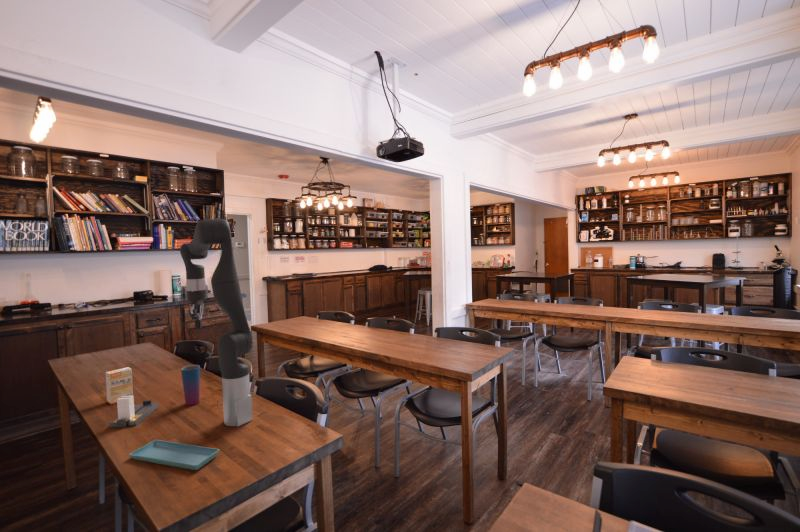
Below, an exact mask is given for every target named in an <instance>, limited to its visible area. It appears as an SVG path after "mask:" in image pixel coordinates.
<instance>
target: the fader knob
mask: <svg viewBox="0 0 800 532" xmlns="http://www.w3.org/2000/svg"><path fill="white" fill-rule="evenodd" d="M134 399H135V398H134V395H133V396H122V397H120V398H119V399H117V403H116V405H117V407H116V408H117V417H118V419H127V420H131V419H132V418H134V417H135V410H134V405H135V400H134Z"/></svg>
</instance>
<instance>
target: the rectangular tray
mask: <svg viewBox="0 0 800 532" xmlns="http://www.w3.org/2000/svg"><path fill="white" fill-rule="evenodd" d="M219 452H220V449H219V448H212V447H207V446H206V447H205V446H200V445H192V444H186V443H181V442H175V441H174V442H173V441H167V440H162V439H154V440H152V441H150V442H149V443H146V444H145V445H143V446H141V447H139V448H137V449H135V450H134V451H132V452H130V453H129V454H128V456H129V457H130V458H132V459H133V460H136V461H142V462H147V463H148V462H149V463H154V464H159V465H165V466H170V467H176V468H180V469H186V470H190V471H191V470H192V471H198V470H199V469H201V468H203V466H205V465H206V464H208V463H209V462H210V461H212V460H213V459H214V458H216V457H217V455H218V454H219Z"/></svg>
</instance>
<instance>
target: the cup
mask: <svg viewBox="0 0 800 532" xmlns="http://www.w3.org/2000/svg"><path fill="white" fill-rule="evenodd" d="M180 371H181V378H182V379H181V380H182V387H183V393H184V394H183V395H184V403H185V405H186V406H187V405H192V406H195V404H196V405H197V403H198V404H199V403H200V396H201V395H200V391H201V390H200V387H201V386H200V385H201V380H200V379H201V365H199V364H191V365H190V364H189V365H185V366H183V367H182V368H181V369H180Z"/></svg>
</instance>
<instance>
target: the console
mask: <svg viewBox="0 0 800 532" xmlns="http://www.w3.org/2000/svg"><path fill="white" fill-rule="evenodd" d="M152 400H153V399H143V400H142V403H141V404H140V403H139V404H134V410H135V417H134V418H132V419H131V420H127V419H118V416H117V417H116V418H115V419H113V420H112V421H110V422H109V428H110V427H111V428H116V429H122V427H124V428H127V427H132V426H133V425H136V426H138V425H139V424H140V423H141V422H142V420H143V421H144V420H145V419H147V418H148V416H150V415H151V414H152V413H153V412H155V411H156V410H157V409H159V407H160V404H159V402H155V403H153V401H152ZM155 409H156V410H155ZM154 410H155V411H154ZM133 427H134V426H133Z"/></svg>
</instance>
